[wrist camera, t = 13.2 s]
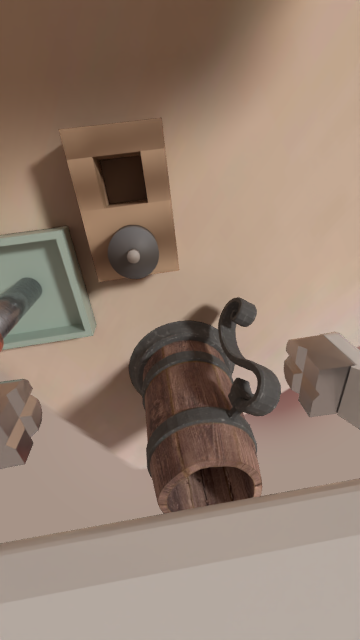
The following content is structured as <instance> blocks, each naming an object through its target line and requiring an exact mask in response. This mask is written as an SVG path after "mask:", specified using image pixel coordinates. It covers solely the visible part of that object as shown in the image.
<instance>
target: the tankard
mask: <svg viewBox="0 0 360 640" xmlns="http://www.w3.org/2000/svg"><path fill="white" fill-rule="evenodd" d="M256 314H257V310H256V307H255V305H253V304H251V303H249V302H247V301H245V300H244V299H242V298H239V297H238V298H233V299H232V300H230V301H229V302H228V303H227V304H226V306H225V307H224V309H223V311H222V313H221V315H220V319H219V323H218V329H216V328H214V327H213V326H211V325H208V324H205V323H202V322H196V321H177V322H173V323H168V324H165V325H163V326H160V327H158V328H156V329H155V330H153V331H151V332H150V333H148V334H147V335H146V336H145V337H144V338H143V339H142V340H141V341H140V342H139V343H138V345H137V346H136V347H135V349H134V351H133V353H132V356H131V358H130V364H129V374H130V378H131V381H132V384H133V385H134V387H135V389H136V390H137V391H138V392H139V393H140V394H141V395H142V398H143V405H144V409H145V411H146V424H147V438H148V444H147V448H146V452H147V468H148V471H149V474H150V476H151V477H152V480H153V484H154V488H155V493H156V497H157V502H158V505H159V507H160V509H161V511H162V512H163V513H164V514H165V513H170V512H176V511H182V510H187V509H193V508H198V507H204V506H209V505H215V504H220V503H226V502H231V501H237V500H242V499H248V498H254V497H259V496H261V491H262V480H261V475H260V470H259V465H258V460H257V455H256V453H257V444H256V441H255V438H254V436H253V433H252V430H251V428H250V425H249V424H248V423H247V421H246V420H245V418H244V415H243V412H245V413H248V414H251V415H254V416H264V415H266V414H268V413H270V412H271V411H272V410H273V409H274V408H275V407H276V406H277V404H278V402H279V399H280V394H281V385H280V383H279V380H278V378H277V377H276V375H275V374H274V373H273V372H272V371H271V370H269V369H267V368H266V367H264V366H262V365H259V364H257V363H255V362H252V361H250V360H246V359H245V358H244V357H243V356H242V354H241V353H240V350H239V348H238V346H237V341H236V335H235V328H236V324H238V325H240V326H243V327H247V326H249V325H251V324H252V322H253V321H254V320H255V317H256ZM235 364H236V365H239V366H241V367H243V368H246V369H248V370H251V371H253V373H254V374H255V375H256V377H257V381H258V386H257V390H256V392H255V394H252V392H251V389H250V385H249V382H248V381H246V380H243V379H240V378H236V379H235V381H234V382H233V379H232V377H231V376H232V373H233V370H234V365H235Z"/></svg>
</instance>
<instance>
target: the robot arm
mask: <svg viewBox="0 0 360 640" xmlns="http://www.w3.org/2000/svg"><path fill="white" fill-rule="evenodd" d="M286 351H287V353H288V354H289V357H288V358H287V359H286V360H285V361H284V374H285V379H286V381H287V383H288V385H289V387H290V388H291V390H293V391H295V392H296V393H299V399H298V401H299V402H300V403H301V405H302V406H303V408H304V410H305V411H306V412H307V414H308V416H309V417H314V416H321V415H329V414H336V413H338V414H337V415H338V416H340V417H341V418H343V419H344V420H346V421H348V422H349V423H351V424H352V425H354V426H355V427H357V428H358V429H360V350H359V349H357V348H356V347H355V346H354V345H353V344H352V343H350V342H349V341H348V340H347V339H346V338H345V337H343V336H342V335H341V334H340V333H337V332H331V333H326V334H320V335H317V336H310V337H304V338H297V339H291V340H289V341H288V342H287V346H286ZM32 389H33V388H32V386H31V385H30V383H29V381H28V380H25V379H19V380H11V381H4V382H0V469H2V468H7V467H13V466H18V465H23V464H25V463H26V460H27V458H28V455H29V453H30V450H31V448H32V445H33V441H32V439H31V436H33V435H34V434H35V433H36V432H37V431H38V430H39V427H40V424H41V421H42V409H41V404H40V402H39V400H38V399H37V398H35V397H34V396H32V395H30V394H31V391H32ZM0 640H360V478H359V479H353V480H348V481H342V482H337V483H331V484H326V485H320V486H315V487H309V488H303V489H298V490H293V491H287V492H281V493H276V494H270V495H265V496H259V497H254V498H248V499H242V500H237V501H231V502H226V503H220V504H215V505H209V506H204V507H198V508H193V509H187V510H182V511H176V512H170V513H165V514H159V515H154V516H149V517H143V518H137V519H132V520H127V521H121V522H116V523H110V524H104V525H99V526H93V527H88V528H83V529H77V530H71V531H66V532H61V533H54V534H49V535H44V536H38V537H33V538H27V539H21V540H16V541H11V542H5V543H0Z"/></svg>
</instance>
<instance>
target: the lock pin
mask: <svg viewBox="0 0 360 640" xmlns="http://www.w3.org/2000/svg"><path fill="white" fill-rule="evenodd" d="M41 295H42V287H41V285H40V284H39V282H38V281H36V280H35V279H32V278H28V277H25V278H22V279H20V280H19V281H17V282H16V283H15V284H14V285H13V286H11V287H10V288H9V289H8V290H7V291H5V292H4V293H3V294H2V295H0V352H1V351H2V349H3V345H4V341H3V339H4V338H5V337H6V336H7V334H8V333H9V332H10V331H11V330H12V329H13V328H14V326H15V325H16V324H17V323H18V322H19V321H20V319H21V318H22V317H23V316H24V315H25V314H26V313H27V311H28V310H29V309H30V308H31V307H32V306H33V304H34V303H35V302H36V301H37V300H38V299H39V298H40V296H41Z"/></svg>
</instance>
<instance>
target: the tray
mask: <svg viewBox="0 0 360 640" xmlns="http://www.w3.org/2000/svg"><path fill="white" fill-rule="evenodd" d="M25 277H28V278H32V279H35V280H36V281H38V282H39V284H40V285H41V287H42V295H41V296H40V298H39V299H38V300H37V301H36V302H35V303H34V304H33V306H32V307H31V308H30V309H29V310H28V311H27V313H26V314H25V315H24V316H23V317H22V318H21V319H20V321H19V322H18V323H17V324H16V325H15V326H14V328H13V329H12V330H11V331H10V332H9V333H8V334H7V336H6V337H5V338H4V339H3V341H4V345H3V349H2V350H5V349H11V348H18V347H24V346H30V345H37V344H43V343H50V342H56V341H62V340H69V339H75V338H81V337H88V336H93V334H94V331H95V328H96V321H95V318H94V315H93V311H92V308H91V304H90V301H89V297H88V294H87V290H86V287H85V284H84V280H83V277H82V273H81V270H80V266H79V263H78V260H77V256H76V253H75V249H74V246H73V242H72V239H71V235H70V232H69V229H68V226H64V227H57V228H49V229H42V230H34V231H27V232H19V233H12V234H5V235H0V295H2V294H3V293H4V292H5V291H7V290H8V289H9V288H10V287H11V286H13V285H14V284H15V283H16V282H17V281H19V280H20V279H22V278H25Z"/></svg>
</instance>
